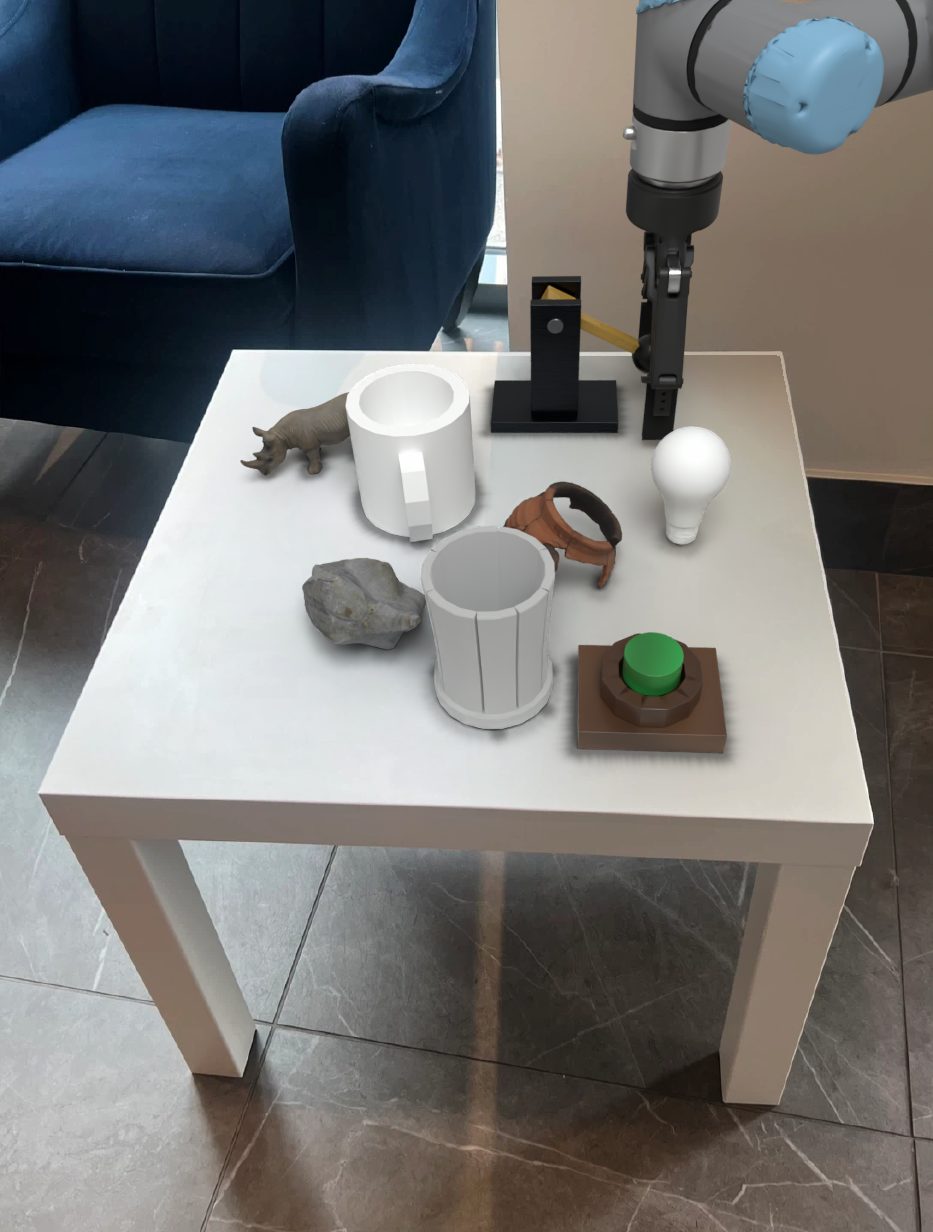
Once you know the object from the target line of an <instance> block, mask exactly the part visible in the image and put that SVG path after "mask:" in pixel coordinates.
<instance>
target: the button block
mask: <svg viewBox="0 0 933 1232" xmlns="http://www.w3.org/2000/svg"><path fill="white" fill-rule="evenodd" d="M639 634H641V633H640V632H639V633H634V634H631V635H630V636H627V637H624V638H622V639H620V640H617V641H615V642H614V643H612V645H609V644H608V645H605V644H604V645H601V644H578V648H577V649H578V650H577V749H579V750H609V751H614V750H615V751H641V752H642V751H643V752H645V751H646V752H672V753H673V752H677V753H709V754H714V753H715V754H723V753H724V750H725V746H726V742H727V737H728V734H727V727H726V718H725V717H726V716H725V710H724V703H723V693H722V687H721V678H720V670H719V663H718V655H717V648H716V647H700V646H699V647H697V646H688V645H687V644H686V643H684V642H682V641H680V640H678V639H675V638H673V639H674V640H675V641H676V642H677V643H678V644H679V645H680V646H681V648H682V650H683V655H684V658H683V664H682V671H681V677H680V681H679V683H678V685H677V686H676V688H675V689H674V690H672V691H671V692H669V693H667V694H664V695H660V696H647V695H643V694H640V693H638V692H636V691H634V690H633V689H631V688H630V687H629V686H628V685H627V684H626V682H625V680H624V678H623V673H622V671H623V660H624V650H625V647H626V645H627V643H628V642H629V641H630V640H631V639H632V638H633V637H635V636H637V635H639Z"/></svg>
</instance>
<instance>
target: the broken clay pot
mask: <svg viewBox="0 0 933 1232" xmlns="http://www.w3.org/2000/svg"><path fill="white" fill-rule="evenodd" d="M560 498H561V499H562V498H566V499H569V503H570V504H569V505H568V508H569V509H571V510H577V511H580V512H582V513H583V514H585V515H586V516H587V517H588V518H589V519H590V520H591V521H592V522H593V523H595V524H597V525H598V529H599V530H600V532H601V534H602V536H603V537H604V538H605V540H596V539H592V538H590V537H588V536H586V535H583V533H581V532H579V531H577V530H575V529H574V528H573V527H572V526H571V525H570V524H568V522H567V521H566V520H565V519H564V518H563V516H562V515H561V514H560V513H559V511H558V509H557V507H556V505H555V502H554V499H560ZM502 527H507V528H512V529H517V530H520V531H522V532H524V533H526V534H528V535H530V536H532V537H535V538H536V539H537V540H538V541H539V542H540V543H541V544H543V545H544V546H545V547H546V549H547V550H548V551H549V553H550V555H551V557H552V559H553V561H554V567H555V573H557V571H558V568H559V563H560V553H559V552H558V550H557V549H561V550H564V554H563V557H564V559H567V560H571V561H576V562H578V563H581V564H590V565H594V566H599V567H603V568H602V573H601V575H600V577H599V579H598V580H597V585H598V587H599V588H602V587H603V586H604V585H606V583H607V581H608V579H609V578H610V577H611V574H612V572H613V570H614V568H615V565H616V558H617V546H618V545H619V543H620V542H621V541H622V540H623V531H622V525H621V524H620V522H619V520H618V517H617V516H616V515H615V513H613V511H612V509H611V508H610V507H609V505H608V504H606V503H605V502H604V501H603V500H602V499H601V498H600V496H597V495H596V494H595V493H594V492H592V491H591V490H589V489H587V488H585V487H584V486H581V485H580V484H576V483H573V482H568V481H556V482H553V483H551V484H549V486H547V488H546V489H545V491H543V492H541V493H539V494H538V495H535V496H530V497H529V498H527V499H524V500H522V501H521V502H520V503H519V504H518V505H517V506H516V507H515V508H514V509H513V510H512V512H511V514H510V515H509V516H508V517H507V519H506V520H505V522H504V524H503V526H502Z"/></svg>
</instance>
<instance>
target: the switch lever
mask: <svg viewBox="0 0 933 1232" xmlns="http://www.w3.org/2000/svg"><path fill="white" fill-rule="evenodd" d="M542 299H576V298H574V297H572V296H570V295H568V294H566V293H564V292H562V291H560V290H558V289H556V288H554V287H551V286H548V287H547V289H546V291H545V292H544V294H543V296H542V298H541V299H540V300H542ZM580 330H582V331H584V332H586V333H588V334H590V335H593V336H594V337H597V338H598V339H602V341H605V342H607V343H610V344H611V345H614V346H615V347H618V348H619V349H621V350H624V351H626V352H628V353H630V354H631V361H632V363H633V365H634V367H635V368H636V369H637V370H638V371H639V372H641V373H642V374H646V375H647V374H649V373H650V359H651V334H647V335H644V336H643V337H641V338H640V339H638V338H637V337H634V336H632V335H631V334H628V333H626V332H624V331H622V330H619V329H618V328H616V327H614V326H612V325H609V324H607V323H605V322H603V321H600V320H598V319H597V318H595V317H593V316H591V315H588V314H587V313H584V312H582V311H581V329H580Z"/></svg>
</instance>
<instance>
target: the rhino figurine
mask: <svg viewBox="0 0 933 1232" xmlns="http://www.w3.org/2000/svg"><path fill="white" fill-rule="evenodd" d="M349 392H350V391H348V392H343V393H341V394H339V395H337V396H335V397H333V398H331V399H329V400H328V401H325V402H324V403H321V404H319V405H316V406H313V407H308V408H299V409H295V410H292V411H290V412H288V413H287V414H285V415H284V416H283V417H281V418H280V419H279V420H278V421H276V423H275V424H274V425H273V426H272V427H270V428H269V429H268V430H264V429H262V428H259V427H256V426H252V427H251V429H252V432H253V434H254V435H255V436H257V437H259V438H262V440H261V442H262V444H263V446H262V448H261V450H260V451H256V452H252V455H253V457H255V458H256V459H254V460H249V461H247V460H243V459H240V460H239V461H240V464H241V465H242V466H244V467H245V468H249V469H253V470H257V471H259V473H260V474H261V475H262V476H265V477H266V476H269V474H270V473H272V472H273V471H274V470H276V469H277V468H278V467H279V466H280V465H281V464H282V463H283V462H284V461H285V459H286V458H287V453H288V450H293V449H299V450H300V451H303V453H304V455H305V456H306V457H307V458H308V461H309V462H308V464H307V466H306V469H307V472H308V474H310V475H315V474H318V473H319V472H320V471H321V470H322V469H323V464H322V462H321V460H320V459H321V453H322V447H321V446H325V447H327V446H334V445H339V444H341V443H343V442H344V441H346V440H347V439H349V437H351V436H350V430H349V424H348V418H347V412H346V401H347V395H348V393H349Z"/></svg>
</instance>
